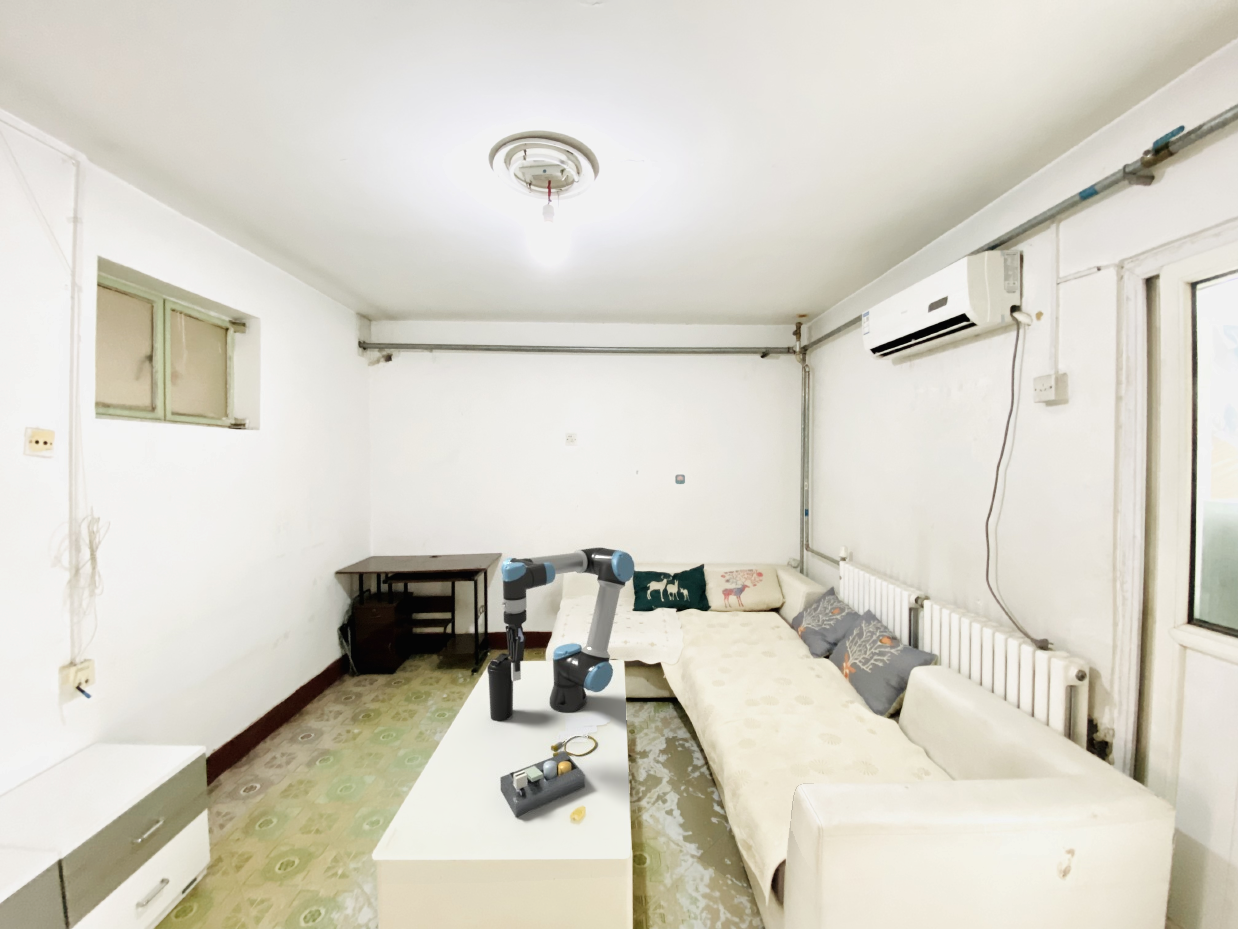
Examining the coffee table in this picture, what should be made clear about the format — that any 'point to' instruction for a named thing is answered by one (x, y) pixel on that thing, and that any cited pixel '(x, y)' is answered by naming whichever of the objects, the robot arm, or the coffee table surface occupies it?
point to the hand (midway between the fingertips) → (516, 679)
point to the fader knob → (520, 779)
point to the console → (541, 787)
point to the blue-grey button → (550, 770)
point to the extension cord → (558, 745)
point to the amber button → (564, 767)
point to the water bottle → (500, 688)
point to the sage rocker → (533, 773)
